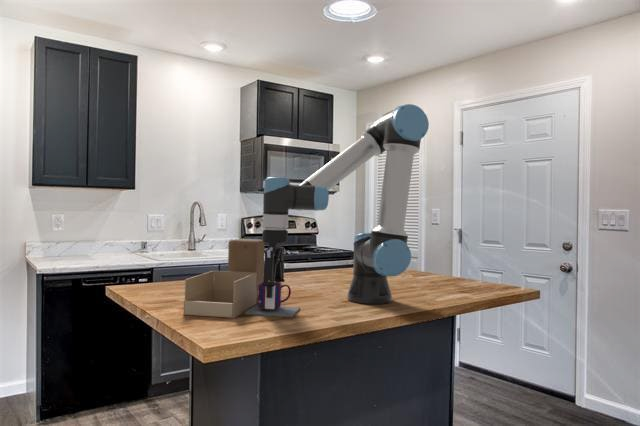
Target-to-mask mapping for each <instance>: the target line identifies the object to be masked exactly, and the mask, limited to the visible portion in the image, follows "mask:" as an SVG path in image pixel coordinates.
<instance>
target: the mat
mask: <svg viewBox="0 0 640 426" xmlns="http://www.w3.org/2000/svg"><path fill="white" fill-rule="evenodd" d="M300 310H301V307H299V306H283V305H282V306H281V305H280V307H279V308H276V309H262V308H259V307H258V304H255V305H253V306H252V307H250V308H249V309H247V310H246V311H244V315H247V316H249V315H250V316H263V317H265V316H266V317H281V318H293V317H294V316H295V315H296V314H297V313H298V312H299V311H300Z"/></svg>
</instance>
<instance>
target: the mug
mask: <svg viewBox="0 0 640 426" xmlns="http://www.w3.org/2000/svg"><path fill="white" fill-rule="evenodd" d="M262 284H263V283H259V284H258V298H257V305H258V307H259V308H262V309H265V287H266V286H263V285H262ZM274 286H275V309H276V308H279V307H280V306H281V304H282V303H284V302H286V301H288V300H289V299H290V297H291V294H292V291H291V290H292V289H291V287H290V286H289V285H287V284H282V286H281V284H280V283H274ZM284 287H287V288H288V295H287V296H286V297H285V298H284V299H282V292H281V288H282V289H283V288H284Z"/></svg>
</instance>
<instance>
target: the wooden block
mask: <svg viewBox="0 0 640 426" xmlns="http://www.w3.org/2000/svg"><path fill="white" fill-rule="evenodd" d="M264 252H265V242H263V240H262V238H261V239H257V238H256V239H255V238H236V239H230V240H229V241H228V254H227V255H228V260H227V262H228V263H227V271H232V272H253V273H257V277H256V291H257V299H258V284H259V283H263V280H264V264H265V253H264Z"/></svg>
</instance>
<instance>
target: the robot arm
mask: <svg viewBox="0 0 640 426" xmlns="http://www.w3.org/2000/svg"><path fill="white" fill-rule="evenodd" d="M429 124H430V123H429V118H428V115H427V114H426V113H425V112H424V110H423V109H422V108H421V107H419V106H418V105H415V104H412V103H411V104H409V103H408V104H404V105H399V106H396V107H395V108H394V109H392V110H390V111H388V112H386V113H384V114H383V115H382V116H381V117H379V118H378V119H377V120H376V121H375V122H374V123H373V124H372V125H370V126H369V127H368V128H367V129H366V130H365V131H363V132H362V133H361V135H360V136H361V137H360V138H359V139H357V140H356V141H355V142H354V143H352V144H351V145H349V146H348V147H347V148H346V149H344V150H343V151H342V152H341V153H339V154H338V155H336V156H335V157H334V158H332V159H331V160H329V162H327V163H326V164H325V165H323V166H322V167H321V168H319V169H318V170H317V171H315V172H314V173H312V174H311V175H310V176H309V177H308V178H306V179H304V181H302V182H301V183H299V184H298V185H295V184H291V182H290V179H289V178H288V177H283V176H282V177H281V176H269V177H266V178H265V179H264V185H263V192H262V193H263V207H262V208H263V210H262V211H263V212H262V214H263V215H262V218H261V221H262V227H263V230H262V238H261V240H263V242H264V243H268V246H267V249H266V250H265V249H264V280H263V284H262V285H263V286H266V287H265V309H275V286H274V283H280V284H281V286H282V285H283V283H284V282H285V279H284V278H285V277H284V272H285V269H284V266H285V265H284V260H285V259H284V255H285V254H284V253H285V247H282V244H284V243H285V244H286V243H288V241H289V239H288V237H289V232H288V230H287V229H288V228H289V210H290V211H291V210H293V211H316V212H317V211H325V210H327V208H328V205H329V201H330V198H329V190H331V189H333V187H335V186H336V185H337V184H339V183H340V182H342V181H343V180H344V179H346V178H348V176H349V175H351V174H353V172H355V171H356V170H357V169H358V168H360V167H362V165H364V164H365V163H367V162H368V161H369V160H370V159H372V158H373V157H374V156H377V157H379V156H381V155H382V154H383V153H384V152H386V158H385V163H384V172H383V180H382V185H381V192H380V193H381V195H380V201H379V208H378V215H377V222H376V226H375V227H374V228H373V229H371V232H362V233H357V234H355V236H354V240H353V244H352V245H353V265H352V268H353V275H352V276H353V277H352V279H351V283H350V286H349V289H348V292H347V301H350V302H354V303H359V304H367V305H369V304H370V305H381V304H387V303H391V302H392V300H393V299H392V295H393V294H392V292H391V289H390V284H389V281H388V277H397V276H400V275H401V274H402V273H404V272H405V271H406V270H407V269H408V268H409V266H410V265H411V261H412V252H411V249H410V247H409V246H408V239H409V235H408V233H407V232H406V231H405V224H406V216H407V210H408V209H407V208H408V202H409V201H408V200H409V192H410V186H411V179H412V172H413V171H412V170H413V165H414V163H413V162H414V157H415V155H416V154H418V152H420V148H421V143H422V142H421V141H422V139H423V138H424V137H425V136H426V135H427V133H428V130H429ZM282 289H283V288H281V293H282Z"/></svg>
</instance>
